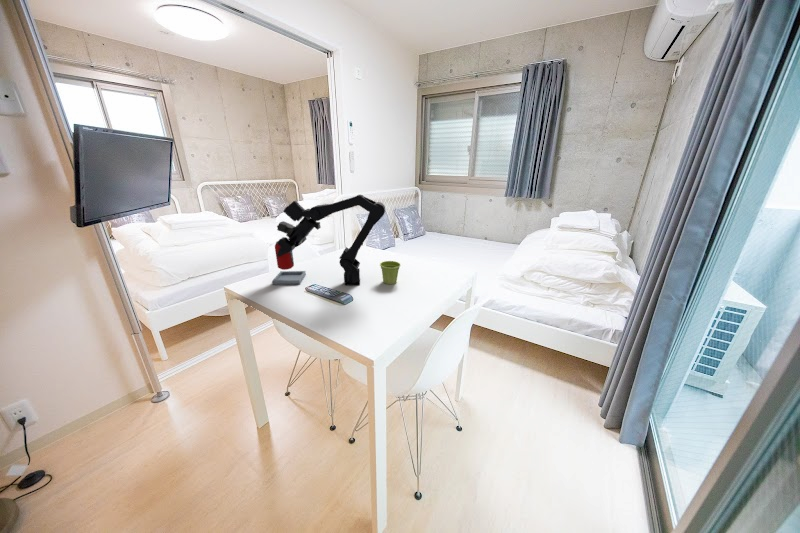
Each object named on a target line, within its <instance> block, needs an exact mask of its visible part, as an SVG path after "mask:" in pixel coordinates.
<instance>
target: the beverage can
mask: <svg viewBox="0 0 800 533" xmlns="http://www.w3.org/2000/svg"><path fill="white" fill-rule="evenodd" d="M278 241H279V240H277V241H276V242H275V245H274V251H275V257H276V263H277V264H276V265H277V268H278V269H280V270H283V271H284V270H285V271H286V270H290V269H292V268H294V266H295V264H294V255H293V251H291V252H290V253H287V254H284V255H282V256H280V257H278V256H277V253H278V251H279V249H280V246H279V245H278V244H277V242H278Z"/></svg>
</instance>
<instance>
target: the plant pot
mask: <svg viewBox="0 0 800 533" xmlns="http://www.w3.org/2000/svg"><path fill="white" fill-rule="evenodd" d="M401 265H402V264H401V263H400V262H398V261H394V260H386V261H385V260H384V261H382V262H380V263H379V266H380V268H381V272H382V282H383V283H385V285H394V284H396V283H397V280H398V275H399V269H400V267H401Z"/></svg>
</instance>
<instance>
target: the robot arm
mask: <svg viewBox="0 0 800 533" xmlns="http://www.w3.org/2000/svg"><path fill="white" fill-rule="evenodd" d="M357 206H360V208H362V209H363V210H365V211H367V212H369V213H368V216H367V218H366V221H365V222H364V225H363V226H362V228H361V230H360V231H359V233H358V234H357V236H356V238H355V239H354V241H353V243H352V244H351V246H350V247H349V248H348V247H347V246H346V247H345V248H344V249H343V251H342V254H341V255H339V259H340V260H339V265H340V267H341V268H342V269H343V270H344V272H343V282H344V283H345V284H344V285H345V286H360V285H361V274H360V272H361V271H360V270H361V269H360V268H359V267H360V264H361V262H360V261H359V260H358V259H357V255H358V253H359V250H360V249H361V248H362V245H363V244H364V243H365V240H366V239H367V238H368V236H369V234H370V232H371V231H372V229H373V227H374V226H375V225H376V224H377V223H378V222H379V221H380V220H381V219H382V218H383V217H384V215H385V212H386V206H385V204H384V203H383V202H381V201H377V202H376V201H375V200H372V199H371V198H368V197H366V196H364V195H363V194H357V195H355V196H352V197H350V198H346V199H343V200H339V201H336V202H332V203H325V204H324V203H323V204H318V205H317V204H316V206H313V207H310V208H304V207H303V206H302V205H301V204H300V203H299V202H298V201H297V200H293V201H292V202H291V203H289V205H288V206H286V207H285V208H284V210H283V213H284V214H285V215H287V216H288V217H289V219H291V221H293V222H296V221H297V222H298V224H297V225H293V224H291V223H288V222H286V221H283V220H282V221H281V222H279V223H278V225H277V226H276V227H277V229H276V230H277V231H279V232H282V233H284V234H286V235H285V236H286V237H284V236H283V237H281V238H279V239H278V240H277V241H278V242H277V241H276V242H277V244H278V245H279V246H280V249H279V251H278V253H277V256H278V257H280V256H282V255H284V254H287V253H290V252H291V251H292V252H293V251H294V250H295V249H296V248H298V247H299V246H301V245H302V244H303V243H304V242H306V240H307V237H308V236H309V234H311V232H312V230H314V229H316V230H319V229H321V228H322V227H321V222H320V221H321V220H323V219H325V218H326V217H328V216H330V215H332V214H335V213H338V212H341V211H344V210H347V209H351V208H354V207H357Z"/></svg>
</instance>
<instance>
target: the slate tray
mask: <svg viewBox="0 0 800 533" xmlns="http://www.w3.org/2000/svg"><path fill="white" fill-rule="evenodd" d="M306 272H307V271H306V270H295V271H294V270H291V271H290V270H289V271H286V270H285V271H284V270H283V271H280V272H278V274H277V275H276V276H275V277H274V278H273V280H272V281H271V283H272V286H286V285H287V286H288V285H289V286H291V285H293V286H295V285H301V283H302V282H303V280H304V278H305V277H306V276H307V274H306Z"/></svg>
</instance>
